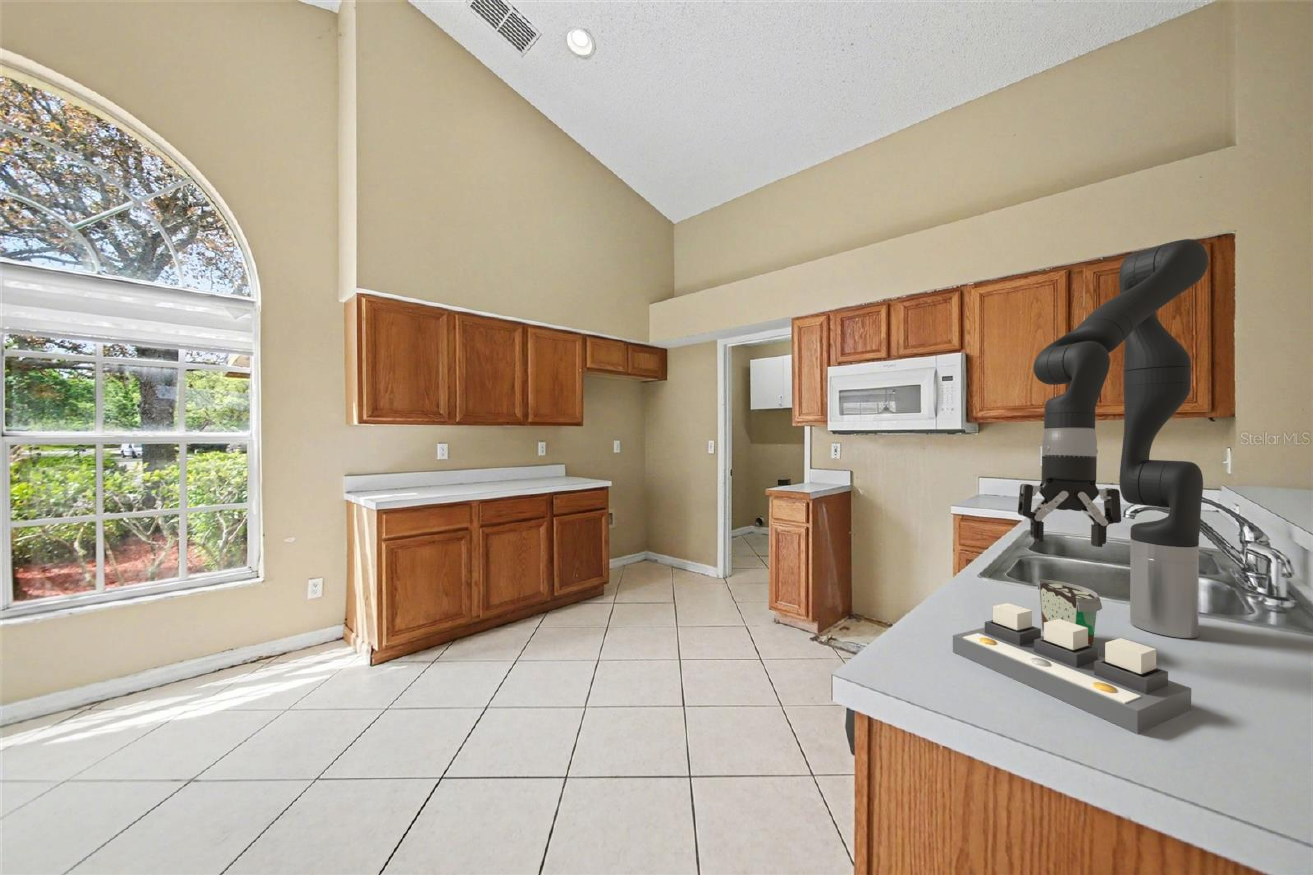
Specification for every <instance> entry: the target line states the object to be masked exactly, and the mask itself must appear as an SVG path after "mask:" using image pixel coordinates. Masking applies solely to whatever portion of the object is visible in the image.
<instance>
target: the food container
mask: <svg viewBox="0 0 1313 875" xmlns="http://www.w3.org/2000/svg"><path fill="white" fill-rule="evenodd" d="M1037 590H1039V602H1040V603H1039V606H1040V618H1041V619H1040V621H1041V633H1043V632H1044V623H1045V622H1049V621H1052V620H1056V619H1061V620H1064V621H1067V622H1070V623H1074V624H1077V625H1080V626H1083V627H1086V628H1088V645H1090V646H1093V645H1094V639H1095V638H1094V637H1095V631H1096V630H1095V629H1096V623H1097V622H1096V620H1097V614H1098V612H1099V611H1101V610H1103V605H1102V601H1101V598H1100V596H1099V594H1098V593H1097V592H1095V591H1094V590H1092V589H1091V588H1087V587H1085V586H1081V585H1078V584H1077V585H1076V584H1073V583H1069V582H1066V581H1065V582H1064V581H1058V580H1052V579H1051V580H1050V579H1038V582H1037ZM1093 647H1094V646H1093Z"/></svg>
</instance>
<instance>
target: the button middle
mask: <svg viewBox="0 0 1313 875" xmlns="http://www.w3.org/2000/svg"><path fill="white" fill-rule="evenodd" d="M1043 637H1044V640H1046V641H1049V642H1052V643H1054V644H1057V645H1060V646H1063V647H1066V648H1068V649H1071V650H1075V649H1078V648H1082V647H1085V646H1088V628H1086V627H1083V626H1080V625H1077V624H1074V623H1070V622H1067V621H1064V620H1061V619H1056V620H1052V621H1049V622H1045V623H1044V633H1043Z"/></svg>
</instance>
